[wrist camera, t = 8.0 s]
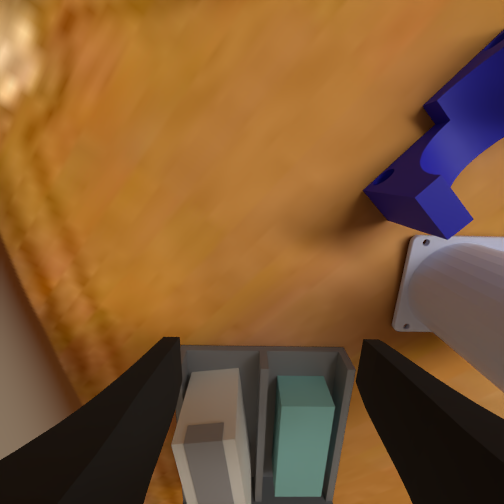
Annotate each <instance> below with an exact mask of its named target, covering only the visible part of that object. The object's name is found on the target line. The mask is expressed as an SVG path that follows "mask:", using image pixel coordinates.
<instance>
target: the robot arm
mask: <svg viewBox="0 0 504 504" xmlns="http://www.w3.org/2000/svg"><path fill="white" fill-rule="evenodd" d="M424 240H426V243H425V244H424V245H423V241H424ZM405 324H407V325H406V326H404V325H405ZM403 326H404V327H403ZM392 327H393V328H394V329H395V330H396V331H400V332H433V333H434V334H436V335H437V336H438V337H439V338H440V339H441V340H443V341H444V342H445V343H446V344H447V345H448V346H450V347H451V348H452V349H453V350H454V351H456V352H457V353H458V354H459V355H460V356H461V357H463V358H464V359H465V360H466V361H467V362H468V363H470V364H471V365H472V366H473V367H474V368H475V369H477V370H478V371H479V372H480V373H481V374H482V375H484V376H485V377H486V378H487V379H488V380H490V381H491V382H492V383H493V384H494V385H495V386H497V387H498V388H499V389H500V390H501V391H502V392H504V237H493V236H452V237H451V238H450V239H448V240H446V239H443V238H440V237H437V236H434V235H415V236H413V237H412V238H411V240H410V243H409V248H408V252H407V257H406V261H405V266H404V271H403V275H402V280H401V285H400V289H399V294H398V298H397V303H396V308H395V312H394V317H393V322H392ZM356 383H357V386H358V389H359V392H360V395H361V397H362V400H363V403H364V405H365V408H366V410H367V412H368V414H369V416H370V418H371V420H372V422H373V424H374V426H375V428H376V430H377V432H378V434H379V436H380V438H381V440H382V442H383V444H384V446H385V448H386V450H387V452H388V454H389V456H390V457H391V459H392V461H393V463H394V465H395V467H396V469H397V471H398V473H399V475H400V477H401V479H402V481H403V483H404V486H405V488H406V490H407V492H408V494H409V496H410V499H411V501H412V503H413V504H504V419H503V418H501V417H499V416H497V415H495V414H494V413H492V412H490V411H488V410H487V409H485V408H483V407H482V406H480V405H478V404H476V403H475V402H473V401H472V400H470V399H468V398H467V397H465V396H463V395H462V394H460V393H459V392H457V391H455V390H454V389H452V388H451V387H449V386H448V385H446V384H445V383H443V382H441V381H440V380H438V379H437V378H435V377H434V376H432V375H431V374H429V373H428V372H426V371H425V370H424V369H422V368H421V367H419V366H418V365H416V364H415V363H413V362H412V361H410V360H409V359H408V358H406V357H405V356H403V355H402V354H400V353H399V352H397V351H396V350H394V349H393V348H391V347H390V346H388V345H387V344H385V343H384V342H382V341H380V340H372V339H363V345H362V350H361V356H360V361H359V367H358V372H357V378H356ZM181 384H182V365H181V351H180V337H163V338H162V339H161V340H160V341H159V342H158V343H156V344H155V345H154V346H153V347H152V348H151V349H150V350H149V351H148V352H147V353H146V354H145V355H143V356H142V357H141V358H140V359H139V360H138V361H137V362H136V363H135V364H134V365H132V366H131V367H130V368H129V369H128V370H127V371H126V372H125V373H123V374H122V375H121V376H120V377H119V378H118V379H116V380H115V381H114V382H113V383H111V384H110V385H109V386H108V387H107V388H105V389H104V390H103V391H102V392H100V393H99V394H98V395H97V396H95V397H94V398H93V399H92V400H90V401H89V402H88V403H86V404H85V405H84V406H82V407H81V408H80V409H78V410H77V411H75V412H74V413H72V414H71V415H70V416H68V417H67V418H65V419H64V420H63V421H61V422H60V423H58V424H57V425H55V426H54V427H52V428H51V429H49V430H48V431H46V432H44V433H43V434H41V435H40V436H38V437H37V438H35V439H34V440H32V441H30V442H29V443H27V444H26V445H24V446H23V447H21V448H19V449H18V450H16V451H15V452H13V453H11V454H10V455H8V456H7V457H5V458H3V459H1V460H0V504H143V503H144V500H145V496H146V493H147V490H148V486H149V483H150V480H151V477H152V474H153V471H154V469H155V466H156V463H157V460H158V457H159V455H160V452H161V449H162V446H163V443H164V440H165V438H166V435H167V432H168V429H169V426H170V423H171V421H172V418H173V415H174V412H175V409H176V406H177V401H178V397H179V393H180V389H181Z"/></svg>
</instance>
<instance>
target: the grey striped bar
mask: <svg viewBox="0 0 504 504" xmlns="http://www.w3.org/2000/svg"><path fill="white" fill-rule="evenodd" d="M171 446H172V450H173V453H174V457H175V461H176V465H177V468H178V472H179V476H180V480H181V483H182V487H183V491H184V495H185V498H186V502H187V504H251V451H250V444H249V437H248V430H247V423H246V416H245V409H244V402H243V394H242V387H241V380H240V373H239V368H231V369H221V370H210V371H199V372H192V373H191V377H190V380H189V384H188V387H187V391H186V394H185V398H184V401H183V405H182V408H181V412H180V415H179V419H178V422H177V426H176V430H175V433H174V437H173V440H172V444H171Z"/></svg>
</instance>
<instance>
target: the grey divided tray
mask: <svg viewBox="0 0 504 504" xmlns="http://www.w3.org/2000/svg"><path fill="white" fill-rule="evenodd" d="M180 351H181V365H182V384H181V389H180V393H179V397H178V401H177V406H176V419H177V422H178V419H179V415H180V412H181V408H182V405H183V401H184V398H185V394H186V391H187V387H188V384H189V380H190V377H191V373H192V372H199V371H210V370H221V369H231V368H239V373H240V380H241V387H242V394H243V402H244V409H245V416H246V423H247V430H248V437H249V444H250V451H251V504H333V503H332V500H333V494H334V489H335V483H336V477H337V472H338V466H339V461H340V455H341V449H342V444H343V438H344V433H345V427H346V421H347V416H348V410H349V405H350V399H351V394H352V388H353V382H354V377H355V371H356V369H355V367H354V366H353V364H352V362H351V360H350V358H349V357H348V355H347V353H346V351H345V349H344V347H283V346H199V345H181V347H180ZM277 376H324V379H325V381H326V384H327V387H328V389H329V392H330V395H331V397H332V400H333V403H334V405H335V411H334V417H333V423H332V430H331V436H330V442H329V449H328V455H327V461H326V468H325V474H324V480H323V487H322V493H321V497H275V494H274V482H273V470H272V446H273V431H274V416H275V401H276V387H277ZM182 492H183V504H187V502H186V498H185V495H184V491H183V487H182Z"/></svg>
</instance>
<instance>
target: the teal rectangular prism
mask: <svg viewBox="0 0 504 504" xmlns="http://www.w3.org/2000/svg"><path fill="white" fill-rule="evenodd" d="M334 411H335V405H334V403H333V400H332V397H331V395H330V392H329V389H328V387H327V384H326V381H325V379H324V376H277V387H276V401H275V416H274V431H273V446H272V470H273V482H274V494H275V497H321V493H322V487H323V480H324V474H325V468H326V461H327V455H328V449H329V442H330V436H331V430H332V423H333V417H334Z"/></svg>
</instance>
